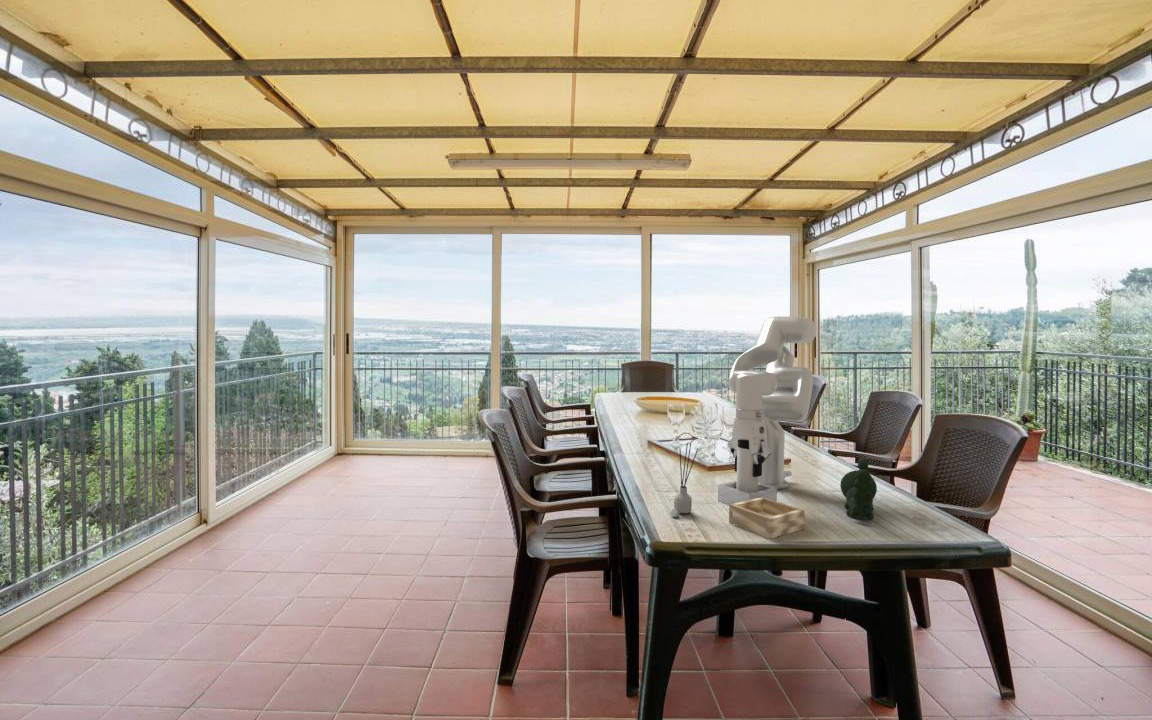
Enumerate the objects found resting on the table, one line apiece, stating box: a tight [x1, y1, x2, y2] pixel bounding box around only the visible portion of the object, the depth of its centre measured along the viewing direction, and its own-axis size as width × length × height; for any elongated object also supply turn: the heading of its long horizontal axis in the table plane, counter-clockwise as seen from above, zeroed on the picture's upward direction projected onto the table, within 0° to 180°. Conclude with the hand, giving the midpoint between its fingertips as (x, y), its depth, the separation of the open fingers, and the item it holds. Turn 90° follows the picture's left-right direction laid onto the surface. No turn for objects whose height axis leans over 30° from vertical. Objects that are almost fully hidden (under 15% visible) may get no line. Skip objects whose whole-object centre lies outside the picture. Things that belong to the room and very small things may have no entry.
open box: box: [717, 480, 778, 505], centre depth 164 cm, size 12×12×5 cm
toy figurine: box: [840, 457, 878, 521], centre depth 155 cm, size 9×19×25 cm
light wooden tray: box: [728, 497, 805, 540], centre depth 145 cm, size 13×13×5 cm
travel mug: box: [736, 439, 759, 493], centre depth 164 cm, size 6×7×20 cm
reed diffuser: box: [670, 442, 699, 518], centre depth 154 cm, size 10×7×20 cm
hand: (747, 473), depth 164 cm, fingers closed on travel mug, 6 cm apart
